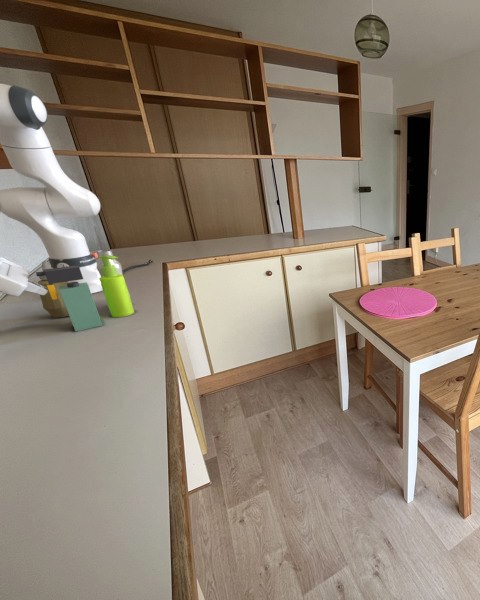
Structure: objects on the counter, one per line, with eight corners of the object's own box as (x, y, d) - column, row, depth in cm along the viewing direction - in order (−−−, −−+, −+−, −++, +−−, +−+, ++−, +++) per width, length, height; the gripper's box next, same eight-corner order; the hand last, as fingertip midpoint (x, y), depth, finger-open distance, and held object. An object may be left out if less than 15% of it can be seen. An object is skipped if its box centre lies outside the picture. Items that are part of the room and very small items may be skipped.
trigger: (52, 299, 88) (46, 285, 87) (52, 297, 90) (46, 283, 89) (58, 298, 89) (53, 284, 88) (58, 296, 91) (52, 282, 89)
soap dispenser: (124, 318, 102) (104, 258, 95) (106, 316, 103) (86, 257, 96) (141, 311, 107) (124, 254, 100) (124, 309, 109) (106, 253, 101)
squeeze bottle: (87, 311, 106) (69, 260, 100) (57, 321, 99) (34, 266, 92) (72, 308, 108) (53, 257, 102) (41, 317, 101) (18, 263, 95)
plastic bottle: (114, 311, 107) (95, 254, 100) (106, 307, 110) (87, 251, 103) (137, 305, 112) (120, 250, 105) (129, 301, 115) (112, 248, 108)
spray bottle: (60, 335, 91) (35, 273, 84) (59, 329, 94) (35, 269, 87) (102, 325, 97) (82, 267, 90) (100, 320, 100) (80, 264, 93)
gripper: (-21, 261, 72) (56, 291, 82) (-12, 247, 85) (53, 275, 95) (-44, 283, 71) (37, 311, 81) (-31, 266, 83) (37, 292, 94)
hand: (46, 292), depth 88 cm, fingers closed, pressing on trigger
